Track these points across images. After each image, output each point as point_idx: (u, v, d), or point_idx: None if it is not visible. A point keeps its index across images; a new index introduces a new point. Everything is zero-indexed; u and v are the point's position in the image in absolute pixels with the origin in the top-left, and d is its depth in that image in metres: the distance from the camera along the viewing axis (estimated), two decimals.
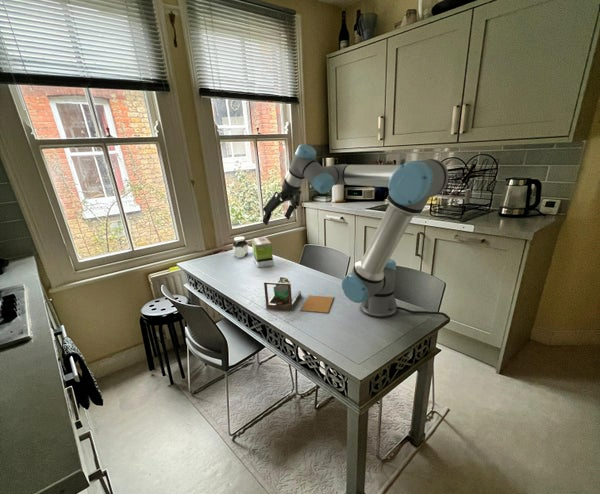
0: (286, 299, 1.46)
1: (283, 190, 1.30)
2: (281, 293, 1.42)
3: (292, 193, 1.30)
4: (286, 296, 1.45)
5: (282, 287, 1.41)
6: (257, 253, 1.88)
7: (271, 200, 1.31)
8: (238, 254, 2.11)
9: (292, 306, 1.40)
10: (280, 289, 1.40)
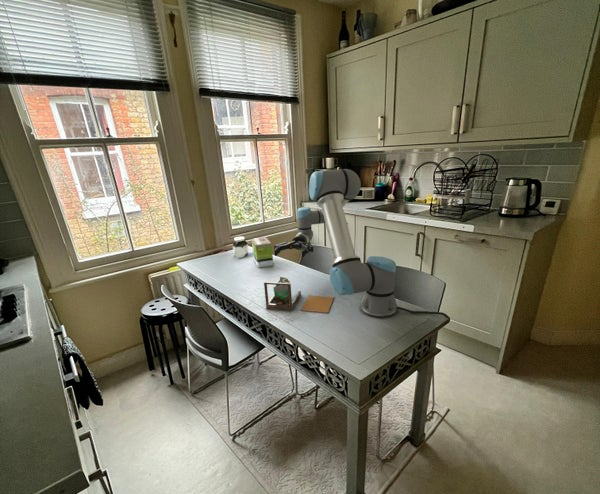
0: (286, 299, 1.46)
1: None
2: (281, 293, 1.42)
3: (295, 236, 1.65)
4: (286, 296, 1.45)
5: (282, 287, 1.41)
6: (257, 253, 1.88)
7: None
8: (238, 254, 2.11)
9: (292, 306, 1.40)
10: (280, 289, 1.40)
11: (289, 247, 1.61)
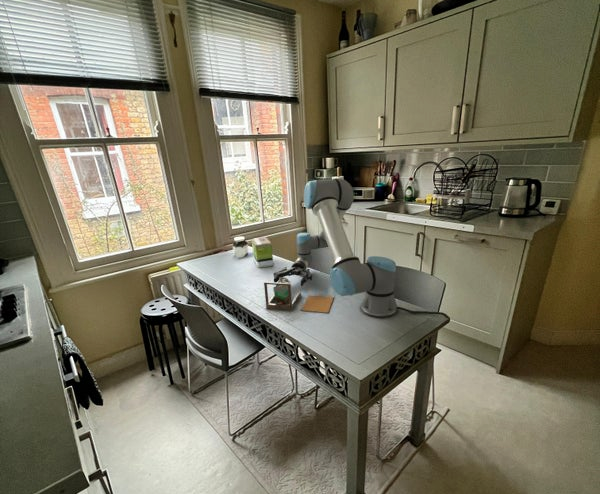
0: (286, 299, 1.46)
1: None
2: (281, 293, 1.42)
3: (294, 262, 1.67)
4: (286, 296, 1.45)
5: (282, 287, 1.41)
6: (257, 253, 1.88)
7: None
8: (238, 254, 2.11)
9: (292, 306, 1.40)
10: (280, 289, 1.40)
11: (288, 274, 1.63)
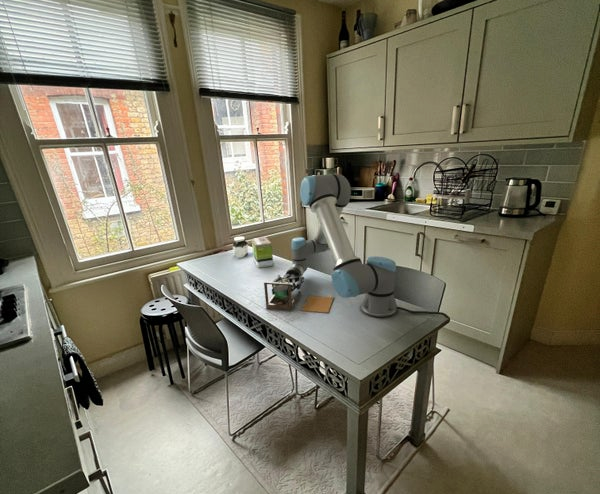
0: (286, 299, 1.46)
1: None
2: (282, 293, 1.42)
3: (289, 269, 1.58)
4: (286, 296, 1.45)
5: (282, 287, 1.41)
6: (257, 253, 1.88)
7: None
8: (238, 254, 2.11)
9: (292, 306, 1.40)
10: (280, 289, 1.40)
11: None
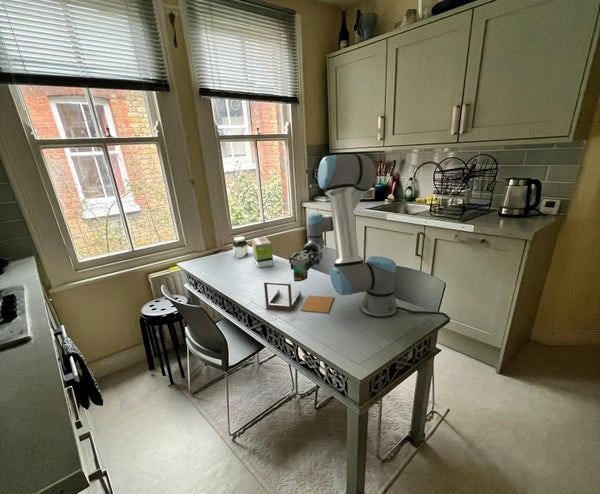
0: (305, 275, 1.38)
1: None
2: (301, 267, 1.34)
3: (306, 245, 1.50)
4: (305, 271, 1.37)
5: (302, 261, 1.33)
6: (257, 253, 1.88)
7: None
8: (238, 254, 2.11)
9: (292, 306, 1.40)
10: (299, 263, 1.33)
11: None
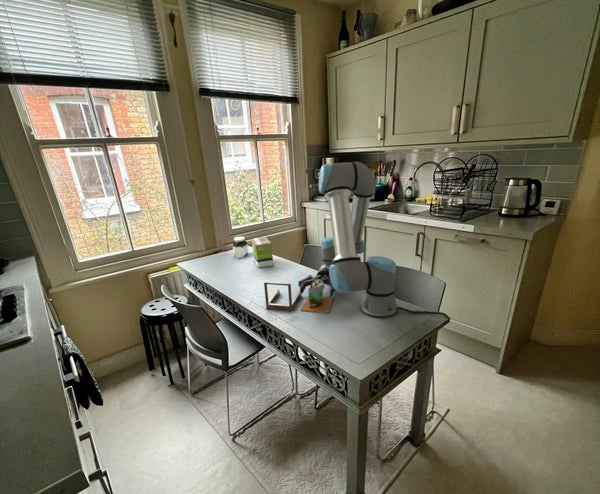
0: (320, 301, 1.41)
1: None
2: (316, 294, 1.38)
3: (320, 270, 1.54)
4: (320, 298, 1.41)
5: (317, 289, 1.37)
6: (257, 253, 1.88)
7: None
8: (238, 254, 2.11)
9: (292, 306, 1.40)
10: (315, 291, 1.36)
11: None
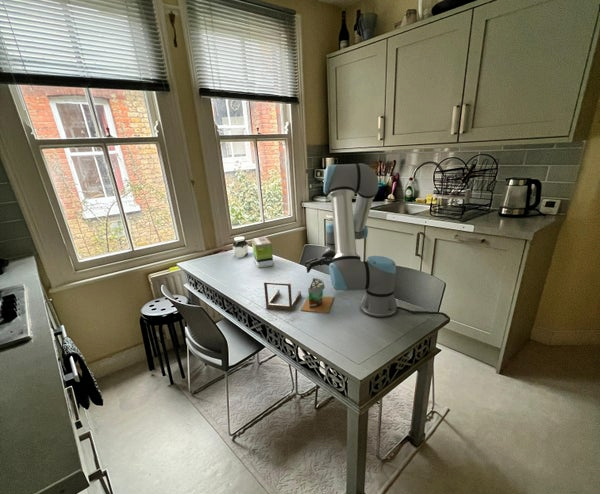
0: (320, 301, 1.41)
1: None
2: (316, 294, 1.38)
3: (325, 252, 1.63)
4: (320, 298, 1.41)
5: (317, 289, 1.37)
6: (257, 253, 1.88)
7: None
8: (238, 254, 2.11)
9: (292, 306, 1.40)
10: (315, 291, 1.36)
11: (320, 263, 1.59)
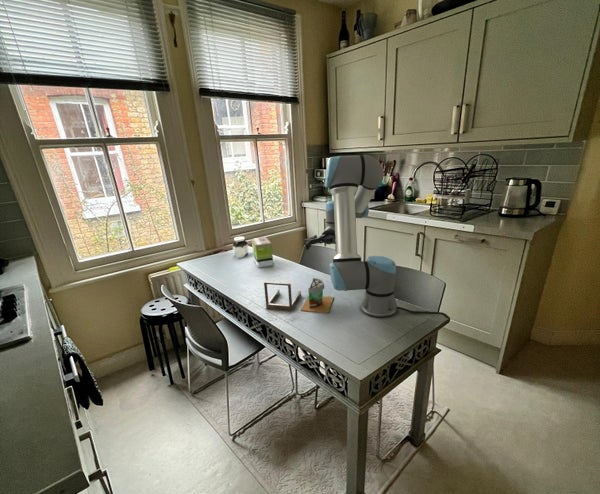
0: (320, 301, 1.41)
1: None
2: (316, 294, 1.38)
3: (325, 230, 1.58)
4: (320, 298, 1.41)
5: (317, 289, 1.37)
6: (257, 253, 1.88)
7: None
8: (238, 254, 2.11)
9: (292, 306, 1.40)
10: (315, 291, 1.36)
11: (319, 241, 1.54)
